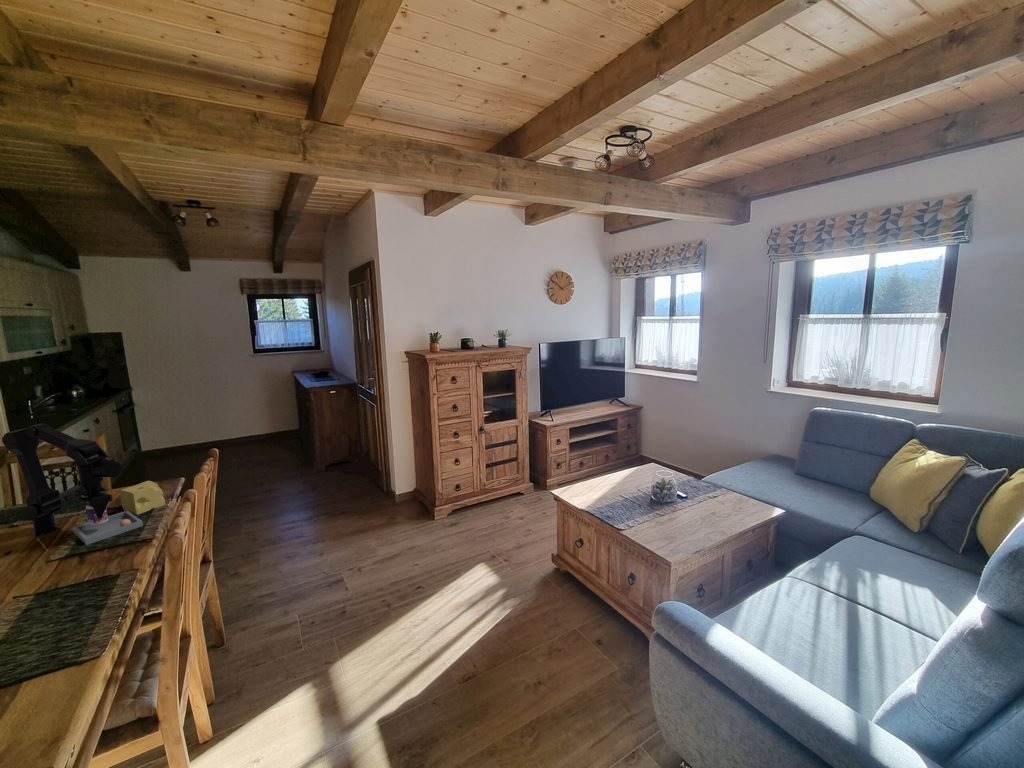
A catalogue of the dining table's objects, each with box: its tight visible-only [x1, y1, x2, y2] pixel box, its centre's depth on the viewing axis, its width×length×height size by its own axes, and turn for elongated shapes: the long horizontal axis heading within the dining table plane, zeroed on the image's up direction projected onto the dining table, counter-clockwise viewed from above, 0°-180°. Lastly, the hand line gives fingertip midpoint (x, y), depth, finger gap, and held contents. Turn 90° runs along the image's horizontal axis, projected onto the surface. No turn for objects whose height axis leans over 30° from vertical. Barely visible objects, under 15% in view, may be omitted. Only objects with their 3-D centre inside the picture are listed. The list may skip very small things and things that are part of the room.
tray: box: [72, 510, 144, 546], centre depth 163 cm, size 16×16×3 cm
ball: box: [120, 519, 131, 527], centre depth 164 cm, size 3×3×3 cm
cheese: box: [119, 480, 166, 516], centre depth 180 cm, size 10×11×10 cm
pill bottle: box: [85, 504, 109, 525], centre depth 161 cm, size 5×5×10 cm
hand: (97, 515), depth 161 cm, fingers closed on pill bottle, 5 cm apart
